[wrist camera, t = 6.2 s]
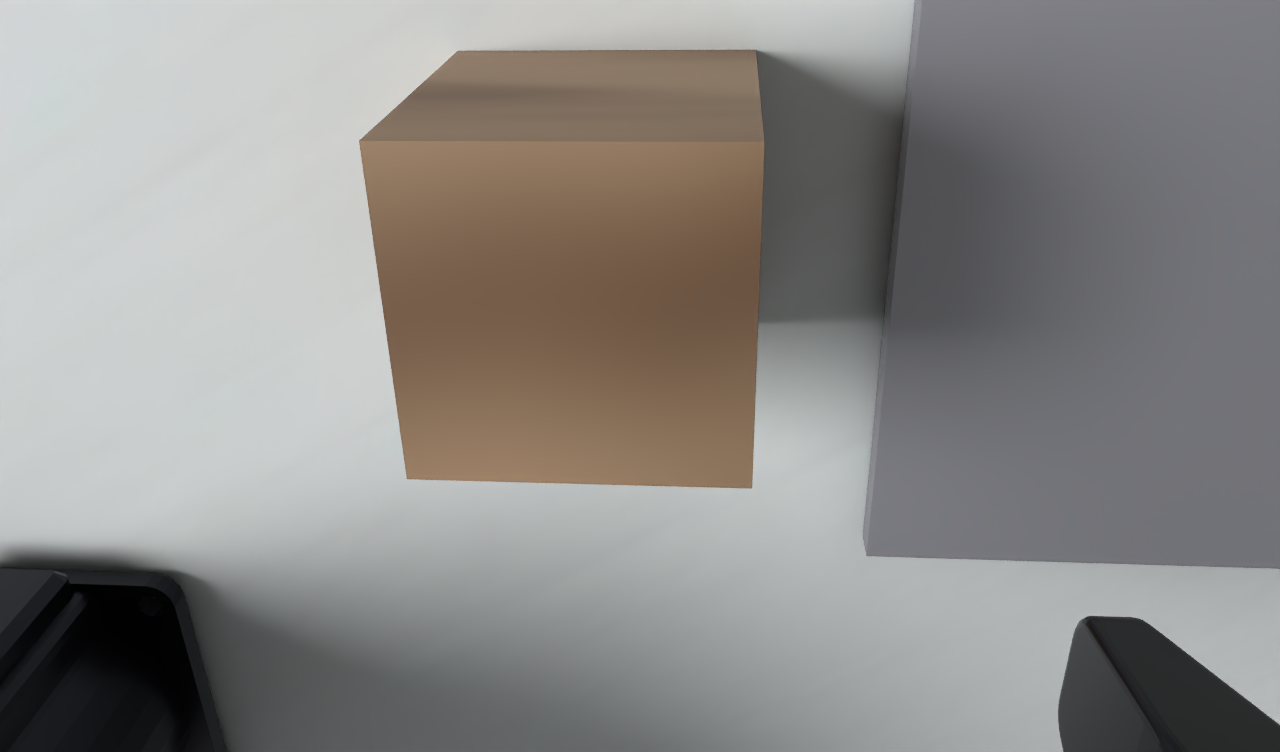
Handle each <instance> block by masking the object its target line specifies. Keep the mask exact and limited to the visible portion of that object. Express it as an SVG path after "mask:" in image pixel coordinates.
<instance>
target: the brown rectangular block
mask: <svg viewBox="0 0 1280 752" xmlns="http://www.w3.org/2000/svg"><path fill="white" fill-rule="evenodd" d="M359 143H360V150H361V157H362V164H363V171H364V178H365V185H366V192H367V199H368V206H369V213H370V220H371V228H372V235H373V242H374V249H375V256H376V263H377V270H378V277H379V284H380V291H381V298H382V305H383V312H384V320H385V327H386V334H387V341H388V348H389V355H390V362H391V369H392V376H393V383H394V390H395V397H396V404H397V412H398V419H399V426H400V433H401V440H402V447H403V454H404V461H405V468H406V475H407V479H421V480H459V481H496V482H533V483H570V484H607V485H644V486H681V487H719V488H752V475H753V448H754V420H755V393H756V365H757V338H758V310H759V283H760V255H761V228H762V200H763V173H764V145H765V141H764V130H763V120H762V109H761V99H760V88H759V77H758V67H757V56H756V50H588V51H457V52H456V53H455V54H454V55H453V56H452V57H451V58H450V59H449V60H447V61H446V62H445V63H444V64H443V65H442V66H441V67H440V68H439V69H438V70H436V71H435V72H434V73H433V74H432V75H431V76H430V77H429V78H428V79H427V80H426V81H424V82H423V83H422V84H421V85H420V86H419V87H418V88H417V89H416V90H415V91H413V92H412V93H411V94H410V95H409V96H408V97H407V98H406V99H405V100H404V101H402V102H401V103H400V104H399V105H398V106H397V107H396V108H395V109H394V110H393V111H391V112H390V113H389V114H388V115H387V116H386V117H385V118H384V119H383V120H382V121H380V122H379V123H378V124H377V125H376V126H375V127H374V128H373V129H372V130H371V131H370V132H368V133H367V134H366V135H365V136H364V137H363V138H362V139H361V140H360V141H359Z"/></svg>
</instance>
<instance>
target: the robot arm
mask: <svg viewBox="0 0 1280 752" xmlns="http://www.w3.org/2000/svg"><path fill="white" fill-rule="evenodd" d="M150 597H154V598H156V599H157V600H159V601H160V602H161V603H159V602H156V601H154V600H153V599H151V598H150ZM1058 722H1059V731H1060V737H1061V742H1062V747H1063V751H1064V752H1280V725H1279V724H1278V723H1276V722H1275V721H1274V720H1273V719H1271V718H1270V717H1269V716H1267V715H1266V714H1265V713H1264V712H1262V711H1261V710H1260V709H1258V708H1257V707H1256V706H1254V705H1253V704H1252V703H1251V702H1249V701H1248V700H1247V699H1245V698H1244V697H1243V696H1242V695H1240V694H1239V693H1238V692H1236V691H1235V690H1234V689H1232V688H1231V687H1230V686H1229V685H1227V684H1226V683H1225V682H1223V681H1222V680H1221V679H1219V678H1218V677H1217V676H1216V675H1214V674H1213V673H1212V672H1210V671H1209V670H1208V669H1207V668H1205V667H1204V666H1203V665H1201V664H1200V663H1199V662H1197V661H1196V660H1195V659H1194V658H1192V657H1191V656H1190V655H1188V654H1187V653H1186V652H1185V651H1183V650H1182V649H1181V648H1179V647H1178V646H1177V645H1175V644H1174V643H1173V642H1172V641H1170V640H1169V639H1168V638H1166V637H1165V636H1164V635H1162V634H1161V633H1160V632H1159V631H1157V630H1156V629H1155V628H1153V627H1152V626H1151V625H1149V624H1148V623H1146V622H1145V621H1143V620H1141V619H1138V618H1132V617H1104V616H1088V617H1086V618H1084V619H1082V620H1081V621H1080V622H1079V623H1078V625H1077V627H1076V629H1075V632H1074V635H1073V639H1072V644H1071V648H1070V653H1069V658H1068V662H1067V667H1066V671H1065V676H1064V680H1063V685H1062V689H1061V694H1060V699H1059V708H1058ZM0 752H227V751H226V748H225V744H224V740H223V737H222V733H221V729H220V726H219V722H218V718H217V714H216V711H215V707H214V703H213V700H212V696H211V692H210V688H209V685H208V681H207V677H206V674H205V670H204V666H203V662H202V659H201V655H200V651H199V648H198V644H197V640H196V637H195V633H194V629H193V625H192V622H191V618H190V614H189V611H188V607H187V603H186V599H185V596H184V593H183V591H182V589H181V587H180V586H179V585H178V584H177V583H176V582H175V581H174V580H173V579H171V578H169V577H167V576H165V575H161V574H156V573H134V572H104V571H74V570H44V569H14V568H0Z"/></svg>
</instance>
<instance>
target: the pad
mask: <svg viewBox="0 0 1280 752" xmlns="http://www.w3.org/2000/svg"><path fill="white" fill-rule="evenodd" d="M863 540H864V545H865V551H866V556H883V557H916V558H948V559H981V560H1014V561H1047V562H1079V563H1112V564H1145V565H1178V566H1210V567H1243V568H1276V569H1280V0H915V5H914V15H913V26H912V36H911V46H910V56H909V67H908V77H907V87H906V98H905V108H904V118H903V128H902V139H901V149H900V159H899V170H898V180H897V190H896V200H895V211H894V221H893V231H892V241H891V252H890V262H889V272H888V283H887V293H886V303H885V313H884V324H883V334H882V344H881V355H880V365H879V375H878V385H877V396H876V406H875V416H874V427H873V437H872V447H871V457H870V468H869V478H868V488H867V499H866V509H865V519H864V529H863Z"/></svg>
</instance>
